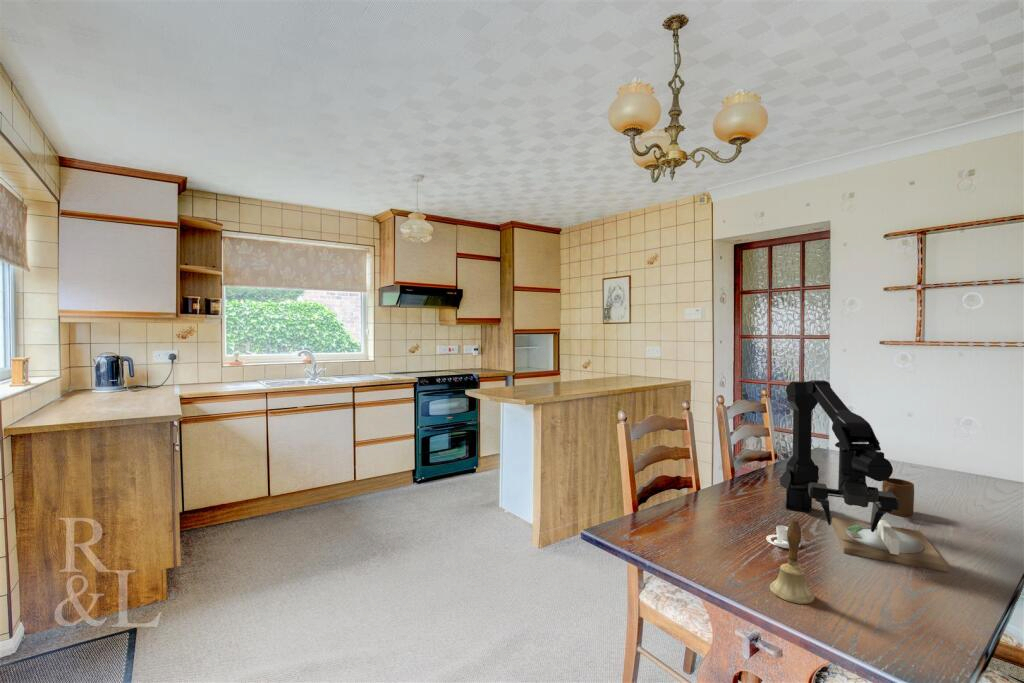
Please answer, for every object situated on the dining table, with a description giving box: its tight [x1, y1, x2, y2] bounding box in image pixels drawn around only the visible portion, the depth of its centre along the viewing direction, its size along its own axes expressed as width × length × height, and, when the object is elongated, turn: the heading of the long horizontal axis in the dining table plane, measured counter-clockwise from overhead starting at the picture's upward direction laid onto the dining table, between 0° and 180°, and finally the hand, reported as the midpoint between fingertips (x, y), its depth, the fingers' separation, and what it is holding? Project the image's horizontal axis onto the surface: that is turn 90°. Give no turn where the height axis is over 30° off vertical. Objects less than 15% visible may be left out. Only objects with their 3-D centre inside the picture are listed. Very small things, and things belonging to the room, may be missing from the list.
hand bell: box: [769, 518, 815, 605], centre depth 102 cm, size 8×8×16 cm
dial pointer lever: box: [877, 518, 899, 555], centre depth 123 cm, size 18×3×4 cm, turn 153°
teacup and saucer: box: [765, 524, 801, 549], centre depth 126 cm, size 9×8×4 cm
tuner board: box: [831, 516, 949, 573], centre depth 125 cm, size 20×21×2 cm
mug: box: [881, 477, 915, 517], centre depth 146 cm, size 12×8×9 cm, turn 123°
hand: (850, 528), depth 125 cm, fingers open, 9 cm apart
